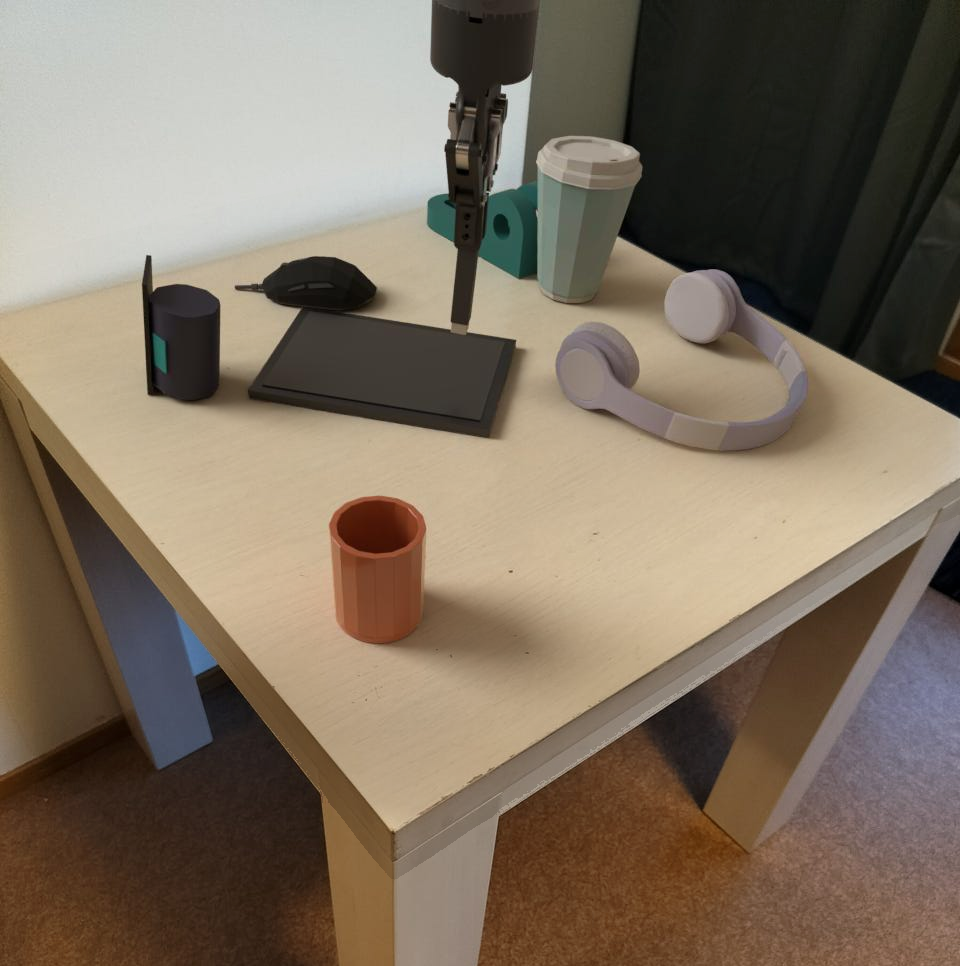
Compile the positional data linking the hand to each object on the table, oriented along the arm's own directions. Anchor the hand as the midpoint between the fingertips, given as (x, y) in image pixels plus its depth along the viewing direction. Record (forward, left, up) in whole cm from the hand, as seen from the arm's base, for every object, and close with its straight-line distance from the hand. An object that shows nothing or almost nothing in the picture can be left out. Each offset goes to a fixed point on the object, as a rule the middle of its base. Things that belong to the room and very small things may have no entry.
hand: (469, 242), depth 75 cm
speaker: (-24, -7, -14) cm, 28 cm away
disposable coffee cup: (+8, +22, -14) cm, 27 cm away
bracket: (-3, +31, -14) cm, 34 cm away
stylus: (0, 0, -8) cm, 8 cm away
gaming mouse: (-19, +12, -14) cm, 26 cm away
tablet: (-7, 0, -13) cm, 15 cm away
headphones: (+22, +5, -14) cm, 26 cm away
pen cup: (0, -31, -13) cm, 34 cm away
